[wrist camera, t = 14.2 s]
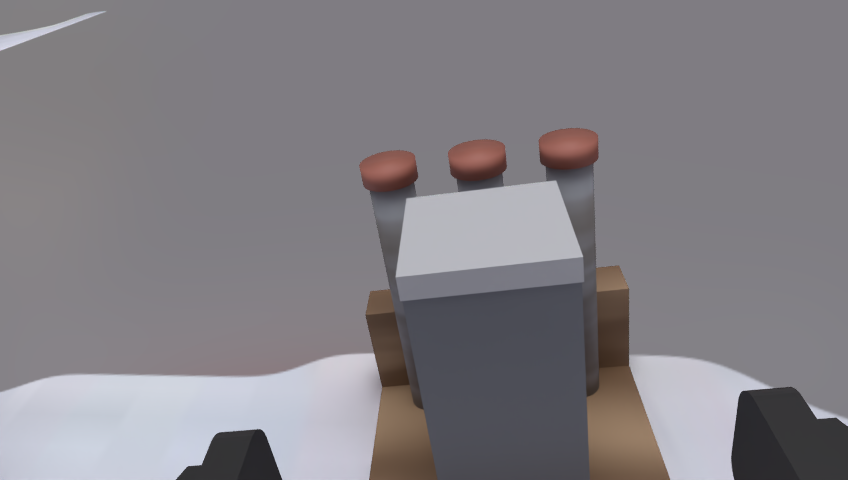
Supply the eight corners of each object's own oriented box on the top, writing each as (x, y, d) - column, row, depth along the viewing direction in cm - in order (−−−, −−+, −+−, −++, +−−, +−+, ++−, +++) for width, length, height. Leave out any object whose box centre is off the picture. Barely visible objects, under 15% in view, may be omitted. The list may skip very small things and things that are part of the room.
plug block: (594, 549, 23) (583, 256, 17) (451, 558, 24) (395, 277, 18) (570, 441, 28) (555, 180, 22) (451, 450, 28) (406, 198, 22)
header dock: (741, 691, 19) (792, 345, 13) (342, 705, 20) (223, 396, 14) (619, 349, 33) (617, 105, 27) (388, 370, 34) (337, 142, 28)
